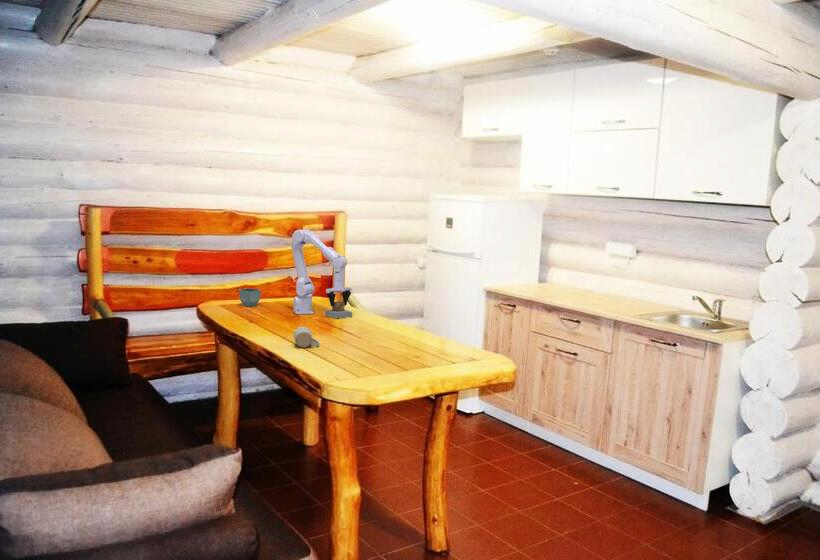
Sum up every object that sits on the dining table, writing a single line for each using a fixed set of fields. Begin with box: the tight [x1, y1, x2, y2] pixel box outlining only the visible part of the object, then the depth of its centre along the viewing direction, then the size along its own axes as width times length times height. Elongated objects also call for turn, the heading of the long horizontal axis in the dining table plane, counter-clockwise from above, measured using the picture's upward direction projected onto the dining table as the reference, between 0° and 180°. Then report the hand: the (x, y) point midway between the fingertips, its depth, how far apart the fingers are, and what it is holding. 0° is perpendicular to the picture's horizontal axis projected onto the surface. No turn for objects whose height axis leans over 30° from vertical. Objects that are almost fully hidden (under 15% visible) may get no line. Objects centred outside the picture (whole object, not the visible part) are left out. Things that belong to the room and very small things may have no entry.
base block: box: [324, 308, 353, 320], centre depth 355 cm, size 10×10×3 cm
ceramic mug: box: [293, 326, 320, 349], centre depth 288 cm, size 11×8×8 cm
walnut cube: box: [331, 301, 345, 312], centre depth 355 cm, size 4×4×4 cm
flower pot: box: [238, 287, 262, 308], centre depth 376 cm, size 9×9×9 cm
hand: (338, 305), depth 355 cm, fingers open, 7 cm apart
